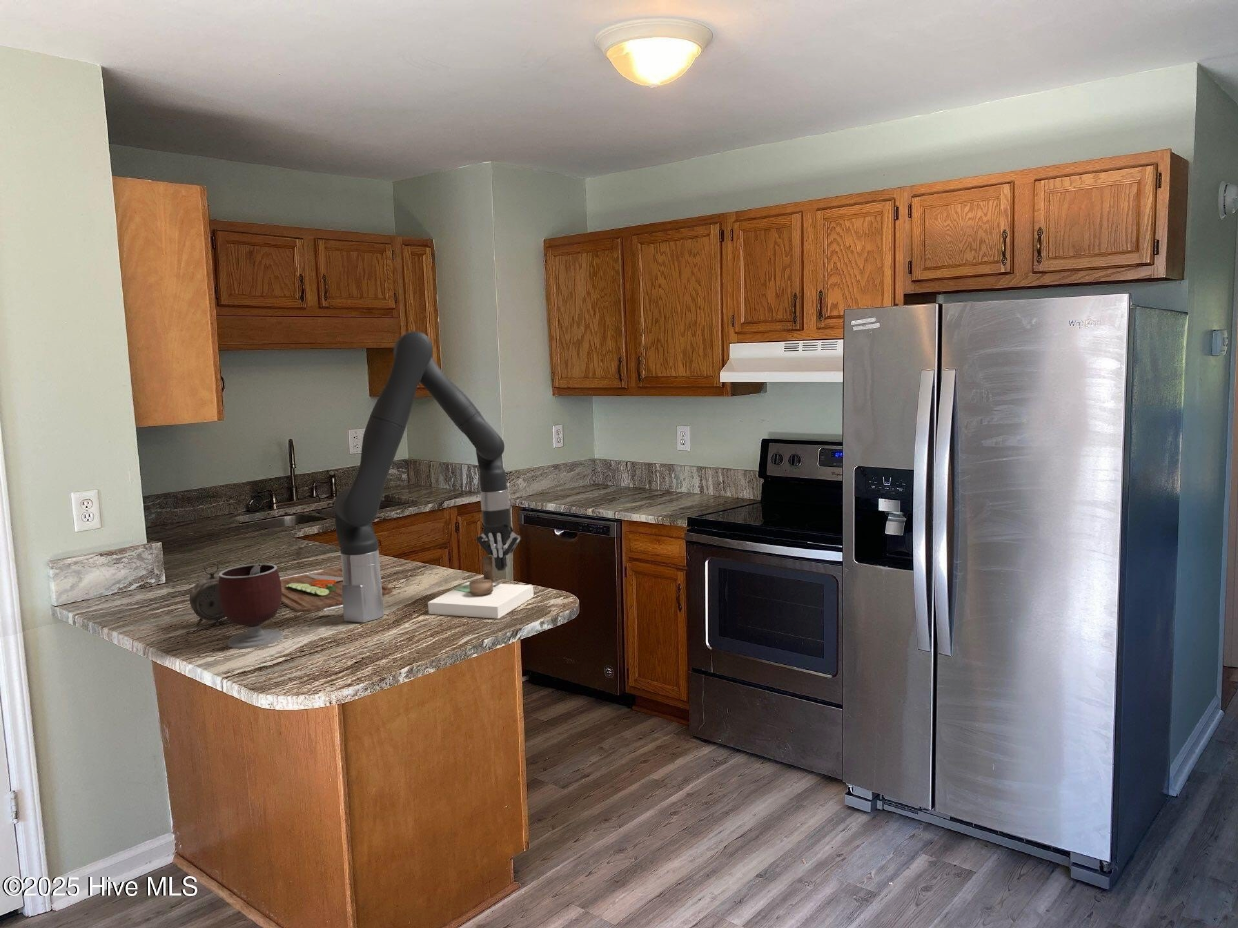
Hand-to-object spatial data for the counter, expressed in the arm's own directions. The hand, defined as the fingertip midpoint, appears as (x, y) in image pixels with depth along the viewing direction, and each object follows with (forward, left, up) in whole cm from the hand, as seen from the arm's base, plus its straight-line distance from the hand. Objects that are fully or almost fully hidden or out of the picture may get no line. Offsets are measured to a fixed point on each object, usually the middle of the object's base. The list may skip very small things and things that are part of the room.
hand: (501, 569), depth 244 cm
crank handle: (-5, +2, -4) cm, 7 cm away
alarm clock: (-38, +62, -7) cm, 73 cm away
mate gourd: (-47, +41, -7) cm, 63 cm away
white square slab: (-9, +1, -7) cm, 12 cm away
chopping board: (-4, +56, -8) cm, 57 cm away
